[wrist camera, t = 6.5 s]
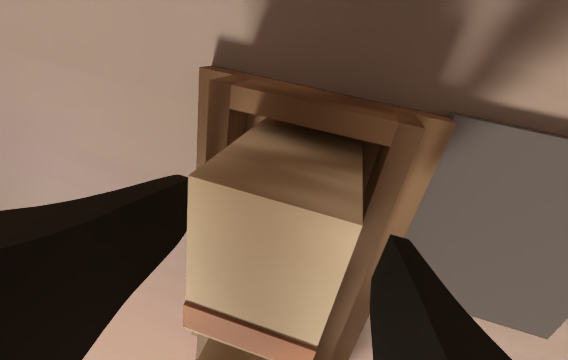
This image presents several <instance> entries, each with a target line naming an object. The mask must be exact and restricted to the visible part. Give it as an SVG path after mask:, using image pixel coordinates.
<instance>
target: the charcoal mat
mask: <svg viewBox="0 0 568 360" xmlns="http://www.w3.org/2000/svg"><path fill="white" fill-rule="evenodd" d="M449 118H450V119H452V120H453V121H454V122H455V123H456V126H455V128H454V130H453V133H452V135H451V137H450V139H449V141H448V143H447V146H446V148H445V150H444V152H443V154H442V157H441V159H440V161H439V163H438V165H437V167H436V170H435V172H434V174H433V176H432V178H431V181H430V183H429V185H428V187H427V189H426V191H425V194H424V196H423V198H422V200H421V202H420V204H419V207H418V209H417V211H416V213H415V215H414V218H413V220H412V222H411V224H410V226H409V228H408V231H407V233H406V235H405V237H404V238H406V239H409V240H410V241H411V242H412V243H413V245H414V246H415V247H416V249H417V250H418V251H419V253H420V254H421V255H422V257H423V258H424V259H425V261H426V262H427V263H428V265H429V266H430V267H431V269H432V270H433V271H434V272H435V274H436V275H437V276H438V278H439V279H440V280H441V281H442V283H443V284H444V285H445V287H446V288H447V289H448V290H449V292H450V293H451V294H452V295H453V296H454V298H455V299H456V300H457V301H458V302H459V304H460V305H461V306H462V307H463V308H464V309H465V310H466V312H467V313H468V314H469V315H470V316H473V317H476V318H480V319H483V320H486V321H489V322H493V323H496V324H499V325H502V326H506V327H509V328H512V329H515V330H519V331H522V332H525V333H528V334H532V335H535V336H538V337H541V338H545V339H548V338H549V337H550V336H551V335H552V334H553V333H554V332H555V331H556V330H557V329H558V328H559V327H560V326H561V325H562V323H563V322H564V321H565V320H566V319H567V318H568V137H564V136H559V135H555V134H550V133H545V132H541V131H536V130H531V129H527V128H522V127H517V126H513V125H508V124H503V123H499V122H494V121H489V120H485V119H480V118H475V117H471V116H466V115H461V114H457V113H452V112H451V114H450V116H449Z"/></svg>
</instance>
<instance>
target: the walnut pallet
mask: <svg viewBox="0 0 568 360" xmlns="http://www.w3.org/2000/svg"><path fill="white" fill-rule="evenodd" d="M265 118H270V119H274V120H278V121H282V122H286V123H290V124H294V125H299V126H303V127H307V128H311V129H315V130H319V131H323V132H327V133H331V134H335V135H339V136H343V137H347V138H352V139H356V140H360V141H362V169H363V226H362V229H361V232H360V234H359V237H358V240H357V242H356V245H355V248H354V250H353V253H352V256H351V258H350V261H349V264H348V266H347V269H346V272H345V274H344V277H343V280H342V282H341V285H340V288H339V290H338V293H337V296H336V298H335V301H334V304H333V306H332V309H331V312H330V314H329V317H328V320H327V322H326V325H325V328H324V330H323V333H322V336H321V338H320V341H319V344H318V346H317V349H316V354H315V356H314V359H313V360H348V359H349V357H350V355H351V353H352V350H353V348H354V346H355V344H356V342H357V340H358V337H359V335H360V333H361V331H362V329H363V326H364V324H365V322H366V320H367V318H368V316H369V313H370V290H371V278H372V276H373V273H374V271H375V269H376V266H377V264H378V262H379V259H380V257H381V255H382V252H383V250H384V248H385V245H386V243H387V241H388V238H389V236H390V234H392V235H395V236H399V237H402V238H404V237H405V235H406V233H407V231H408V228H409V226H410V224H411V222H412V220H413V218H414V215H415V213H416V211H417V209H418V207H419V204H420V202H421V200H422V198H423V196H424V194H425V191H426V189H427V187H428V185H429V183H430V181H431V178H432V176H433V174H434V172H435V170H436V167H437V165H438V163H439V161H440V159H441V157H442V154H443V152H444V150H445V148H446V146H447V143H448V141H449V139H450V137H451V135H452V133H453V130H454V128H455V126H456V123H455V122H454V121H453V120H452V119H450V118H449V117H445V116H440V115H435V114H431V113H426V112H422V111H417V110H412V109H408V108H403V107H399V106H394V105H389V104H385V103H380V102H375V101H371V100H366V99H362V98H357V97H352V96H348V95H343V94H339V93H334V92H329V91H325V90H320V89H316V88H311V87H306V86H302V85H297V84H293V83H288V82H283V81H279V80H274V79H269V78H265V77H260V76H256V75H251V74H246V73H242V72H237V71H233V70H228V69H223V68H219V67H214V66H206V67H199V101H198V134H197V167H196V170H197V169H198V168H199V167H201V166H202V165H203V164H205V163H206V162H207V161H209V160H210V159H211V158H213V157H214V156H215V155H217V154H218V153H219V152H221V151H222V150H223V149H225V148H226V147H227V146H229V145H230V144H231V143H233V142H234V141H235V140H237V139H238V138H239V137H241V136H242V135H243V134H245V133H246V132H247V131H249V130H250V129H251V128H253V127H254V126H255V125H257V124H258V123H259V122H261V121H262V120H263V119H265ZM192 334H193V335H196V336H197V358H196V360H197V359H198V357H199V355H200V354H201V352H202V350H203V348H204V346H205V344H206V342H207V340H208V337H205V336H203V335H200V334H197V333H195V332H192Z"/></svg>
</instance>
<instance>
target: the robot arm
mask: <svg viewBox="0 0 568 360" xmlns="http://www.w3.org/2000/svg"><path fill="white" fill-rule="evenodd" d="M187 207H188V177H185V176H181V175H172V176H167V177H163V178H159V179H156V180H152V181H148V182H145V183H141V184H137V185H134V186H130V187H126V188H123V189H119V190H115V191H111V192H107V193H103V194H98V195H94V196H90V197H86V198H81V199H77V200H71V201H66V202H61V203H55V204H49V205H43V206H36V207H28V208H20V209H12V210H3V211H0V360H82V359H83V358H84V356H85V355H86V354H87V352H88V351H89V350H90V348H91V347H92V345H93V344H94V343H95V341H96V340H97V338H98V337H99V336H100V334H101V333H102V331H103V330H104V329H105V327H106V326H107V325H108V324H109V322H110V321H111V320H112V318H113V317H114V316H115V314H116V313H117V312H118V310H119V309H120V308H121V306H122V305H123V304H124V303H125V301H126V300H127V299H128V298H129V297H130V296H131V294H132V293H133V292H134V291H135V290H136V289H137V288H138V287H139V286H140V285H141V283H142V282H143V281H144V280H145V279H146V278H147V277H148V276H149V275H150V274H151V273H152V272H153V271H154V269H155V268H156V267H157V266H158V265H159V264H160V263H161V262H162V261H163V260H164V259H165V258H166V256H167V255H168V254H169V253H170V252H171V251H172V250H173V249H174V248H175V247H176V245H177V244H178V243H179V241H180V240H181V239H182V237H183V236H184V234H185V233H186V231H187ZM370 320H371V335H372V348H373V360H512V359H511V358H510V357H509V356H508V355H507V354H506V353H505V352H504V351H503V350H502V349H501V348H500V347H499V346H498V345H497V344H496V343H495V342H494V341H493V340H492V339H491V338H490V337H489V336H488V335H487V334H486V333H485V332H484V331H483V330H482V328H481V327H480V326H479V325H478V324H477V323H476V322H475V321H474V320H473V319H472V317H471V316H470V315H469V314H468V313H467V312H466V310H465V309H464V308H463V307H462V306H461V305H460V304H459V302H458V301H457V300H456V299H455V298H454V296H453V295H452V294H451V293H450V292H449V290H448V289H447V288H446V287H445V285H444V284H443V283H442V281H441V280H440V279H439V278H438V276H437V275H436V274H435V272H434V271H433V270H432V269H431V267H430V266H429V265H428V263H427V262H426V261H425V259H424V258H423V257H422V255H421V254H420V253H419V251H418V250H417V249H416V247H415V246H414V245H413V243H412V242H411V241H410V240H409V239H406V238H402V237H399V236H395V235H392V234H390V236H389V238H388V241H387V243H386V245H385V248H384V250H383V252H382V255H381V257H380V259H379V262H378V264H377V266H376V269H375V271H374V273H373V276H372V278H371V290H370Z"/></svg>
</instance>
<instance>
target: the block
mask: <svg viewBox="0 0 568 360" xmlns="http://www.w3.org/2000/svg"><path fill="white" fill-rule="evenodd" d="M197 360H268V359H265V358H262V357H260V356H257V355H254V354H252V353H249V352H246V351H243V350H241V349H238V348H235V347H233V346H230V345H227V344H224V343H222V342H219V341H216V340H214V339H211V338H208V340H207V342H206V344H205V346H204V348H203V350H202V352H201V354H200V355H199V357H198V359H197Z"/></svg>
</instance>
